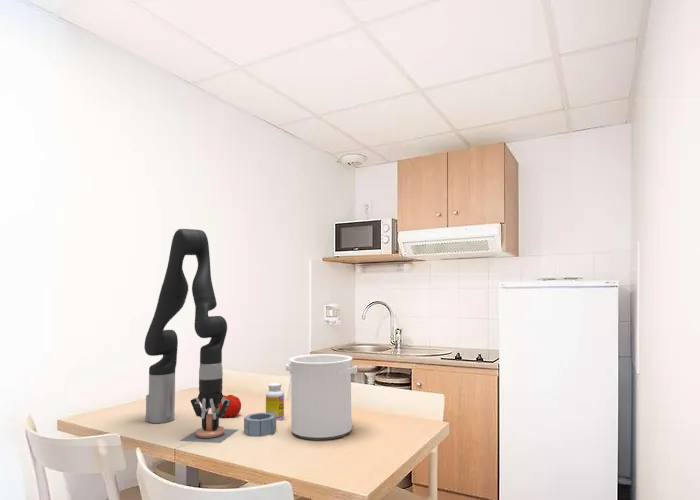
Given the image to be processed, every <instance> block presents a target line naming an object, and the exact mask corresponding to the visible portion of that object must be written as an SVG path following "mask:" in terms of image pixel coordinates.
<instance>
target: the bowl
mask: <svg viewBox="0 0 700 500" xmlns="http://www.w3.org/2000/svg"><path fill="white" fill-rule="evenodd" d="M276 430H277V420H276V415H274V414H272V413H266V412H255V413H250V414H247V415H245V416H244V417H243V432H244V434H245V435H247V436H249V437H264V436H265V437H266V436H270V437H272V436H273V435H275V434H276Z"/></svg>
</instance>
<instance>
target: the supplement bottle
mask: <svg viewBox="0 0 700 500" xmlns="http://www.w3.org/2000/svg"><path fill="white" fill-rule="evenodd" d="M281 389H282V383H279V382H272V383H269V384H268V390H267V391H266V393H265V413H272V414H274V415H276V421H283V419H284V417H285V402H284V401H285V394H284V391H283V390H281Z"/></svg>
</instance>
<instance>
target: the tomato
mask: <svg viewBox="0 0 700 500" xmlns="http://www.w3.org/2000/svg"><path fill="white" fill-rule="evenodd" d="M223 397H224V398H226V399H230V404H229V406H228V408H227V410H226V413H225V415H224V416H222V417H221V418H227V419H228V418H230V417H235V416H237V415H239V413H240V412H241V410H242V402H241V399H240V398H239V397H238V396H235V395H233V394H228V395H223ZM219 408H220V409H219V412H220V410H221V408H222V401H221V402H220V404H219Z"/></svg>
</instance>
